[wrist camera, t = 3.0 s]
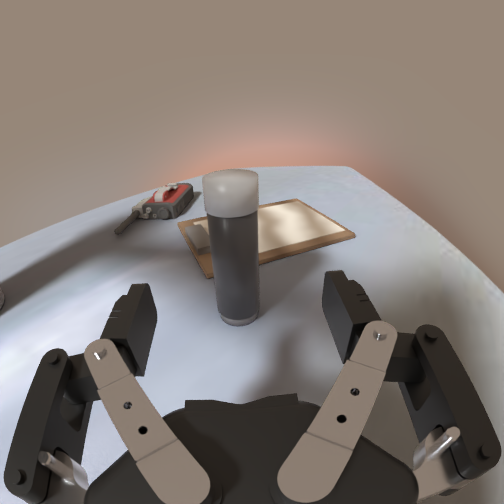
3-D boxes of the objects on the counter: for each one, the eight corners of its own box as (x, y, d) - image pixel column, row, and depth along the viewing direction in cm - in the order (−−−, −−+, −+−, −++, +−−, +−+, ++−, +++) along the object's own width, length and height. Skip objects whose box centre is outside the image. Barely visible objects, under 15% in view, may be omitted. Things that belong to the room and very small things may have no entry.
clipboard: (207, 278, 34) (205, 267, 33) (177, 226, 47) (176, 216, 46) (354, 237, 42) (356, 227, 41) (296, 201, 54) (296, 193, 53)
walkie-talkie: (158, 196, 61) (112, 240, 44) (155, 176, 59) (106, 215, 42) (197, 195, 60) (160, 241, 43) (195, 174, 58) (155, 214, 41)
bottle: (226, 333, 26) (211, 188, 20) (211, 306, 30) (196, 174, 23) (268, 319, 28) (267, 178, 21) (249, 295, 31) (244, 166, 24)
